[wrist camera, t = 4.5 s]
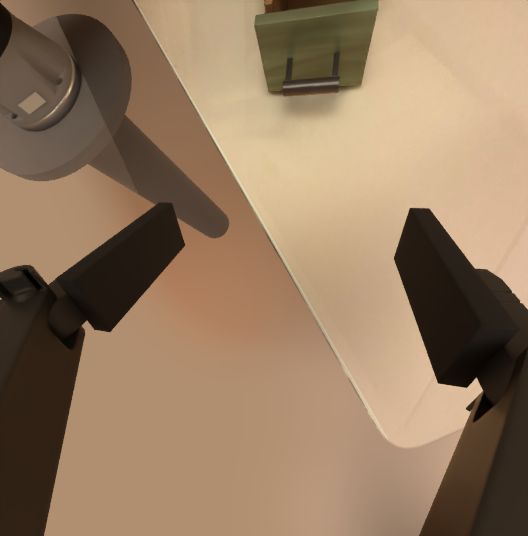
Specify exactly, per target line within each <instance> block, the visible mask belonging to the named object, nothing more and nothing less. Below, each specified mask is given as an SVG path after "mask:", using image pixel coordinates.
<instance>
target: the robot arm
mask: <svg viewBox="0 0 528 536" xmlns="http://www.w3.org/2000/svg"><path fill="white" fill-rule="evenodd" d="M80 88H81V70H80V67H79V65H78V63H77V62H76V60H75V59H74V58H73V57H72V56H71V55H70V54H69V53H68V52H67V51H66V50H65V49H64V48H63V47H61V46H60V45H59V44H57V43H56V42H54V41H53V40H51V39H49V38H48V37H46V36H45V35H43V34H42V33H40V32H38V31H37V30H35V29H34V28H32V27H31V26H29V25H27V24H26V23H24V22H23V21H21V20H20V19H18V18H16V17H15V16H14V15H13V14H11V13H10V12H9V11H8V10H7V9H6V8H5V7H4V6H3V5H2V4H1V3H0V113H1V114H2V115H3V116H4V117H5V118H7V119H8V120H9V121H10V122H12V123H14V124H15V125H17V126H19V127H20V128H22V129H24V130H27V131H32V132H37V131H43V130H46V129H48V128H50V127H52V126H54V125H56V124H57V123H58V122H60V121H61V120H62V119H63V118H64V117H65V116H66V115H67V114H68V113H69V111H70V110H71V109H72V107H73V106H74V104H75V102H76V100H77V98H78V95H79V92H80ZM184 246H185V243H184V240H183V237H182V234H181V230H180V227H179V224H178V221H177V218H176V215H175V211H174V208H173V205H172V203H158V204H157V205H155V206H154V207H153V208H151V209H150V210H149V211H147V212H146V213H145V214H143V215H142V216H141V217H139V218H138V219H136V220H135V221H134V222H132V223H131V224H130V225H128V226H127V227H125V228H124V229H123V230H121V231H120V232H119V233H117V234H116V235H114V236H113V237H112V238H110V239H109V240H108V241H106V242H105V243H104V244H102V245H101V246H99V247H98V248H97V249H95V250H94V251H93V252H91V253H90V254H89V255H87V256H86V257H85V258H83V259H82V260H80V261H79V262H78V263H76V264H75V265H74V266H72V267H71V268H69V269H68V270H67V271H65V272H64V273H63V274H61V275H60V276H58V277H57V278H56V279H55V280H54V281H53V282H51V283H50V284H49V285H47V283H46V282H45V281H44V280H43V278H42V277H41V276H40V275H39V274H38V272H36V270H35V269H34V267H32V266H31V265H23V266H17V267H13V268H10V269H7V270H5V271H3V272H0V297H1V298H2V300H0V536H44V532H45V528H46V523H47V517H48V513H49V508H50V502H51V498H52V493H53V488H54V483H55V478H56V473H57V469H58V464H59V459H60V454H61V449H62V444H63V439H64V434H65V429H66V424H67V420H68V415H69V409H70V405H71V400H72V395H73V391H74V386H75V381H76V376H77V371H78V366H79V361H80V356H81V351H82V346H83V341H84V337H85V330H84V328H83V327H82V325H83V324H84V323H85V322H86V321H88V322H89V323H90V324H91V326H92V327H93V328H94V330H100V331H106V332H111V331H112V329H113V328H114V327H115V326H116V325H117V324H118V322H119V321H120V320H121V319H122V318H123V317H124V315H125V314H126V313H127V312H128V311H129V310H130V308H131V307H132V306H133V305H134V304H135V303H136V302H137V300H138V299H139V298H140V297H141V296H142V295H143V294H144V292H145V291H146V290H147V289H148V288H149V287H150V285H151V284H152V283H153V282H154V281H155V280H156V278H157V277H158V276H159V275H160V274H161V273H162V272H163V270H164V269H165V268H166V267H167V266H168V265H169V263H170V262H171V261H172V260H173V259H174V257H175V256H176V255H177V254H178V253H179V252H180V251H181V250H182V248H183V247H184ZM394 260H395V263H396V266H397V268H398V271H399V274H400V277H401V280H402V283H403V285H404V288H405V291H406V294H407V297H408V300H409V302H410V305H411V308H412V311H413V314H414V317H415V319H416V322H417V325H418V328H419V331H420V334H421V336H422V339H423V342H424V345H425V348H426V351H427V353H428V356H429V359H430V362H431V365H432V368H433V370H434V373H435V376H436V379H437V382H438V383H439V384H446V385H452V386H459V387H465V388H467V387H468V386H469V385H470V384H471V383H472V382H473V381H474V379H475V378H476V377H477V379H478V381H479V383H480V385H481V387H482V389H483V392H482V393H481V394H480V395H479V396H478V397H477V398H476V399H475V400H474V401H473V402H472V403H471V404H470V405H469V406H468V407H467V408H466V409H467V410H468V411H471V410H472V411H471V413H470V416H469V418H468V420H467V423H466V425H465V428H464V430H463V432H462V435H461V438H460V439H459V442H458V444H457V447H456V449H455V452H454V454H453V456H452V459H451V461H450V463H449V466H448V468H447V470H446V473H445V475H444V478H443V480H442V482H441V485H440V487H439V489H438V492H437V494H436V497H435V499H434V501H433V504H432V506H431V509H430V511H429V513H428V516H427V518H426V520H425V523H424V525H423V528H422V530H421V532H420V535H419V536H528V309H527V308H526V307H525V306H524V305H523V304H522V303H520V300H519V299H518V298H517V297H516V295H515V294H514V293H512V291H511V290H510V288H509V287H508V286H507V285H506V284H505V282H504V281H503V280H502V279H500V278H499V277H497V276H496V275H494V274H493V273H491V272H490V271H488V270H487V269H474V267H473V266H472V265H471V263H470V262H469V261H468V259H467V258H466V257H465V255H464V254H463V253H462V251H461V250H460V249H459V247H458V246H457V245H456V243H455V242H454V241H453V239H452V238H451V237H450V235H449V234H448V233H447V232H446V230H445V229H444V228H443V226H442V225H441V224H440V222H439V221H438V220H437V218H436V217H435V216H434V214H433V213H432V212H431V210H430V209H428V208H410V210H409V213H408V216H407V219H406V222H405V225H404V228H403V231H402V235H401V238H400V241H399V244H398V247H397V250H396V253H395V256H394Z"/></svg>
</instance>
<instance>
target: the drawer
mask: <svg viewBox="0 0 528 536" xmlns="http://www.w3.org/2000/svg"><path fill="white" fill-rule="evenodd" d="M264 6H265V12H266V14H260V15H256V18H255V30H256V35H257V39H258V44H259V49H260V54H261V58H262V63H263V68H264V72H265V77H266V82H267V87H268V91H282V95H283V96H284V97H285V96H299V95H312V94H326V93H338V92H339V86H346V85H359V84H361V82H362V78H363V73H364V69H365V64H366V60H367V55H368V51H369V46H370V42H371V37H372V33H373V28H374V24H375V19H376V15H377V10H378V0H265V4H264Z"/></svg>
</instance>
